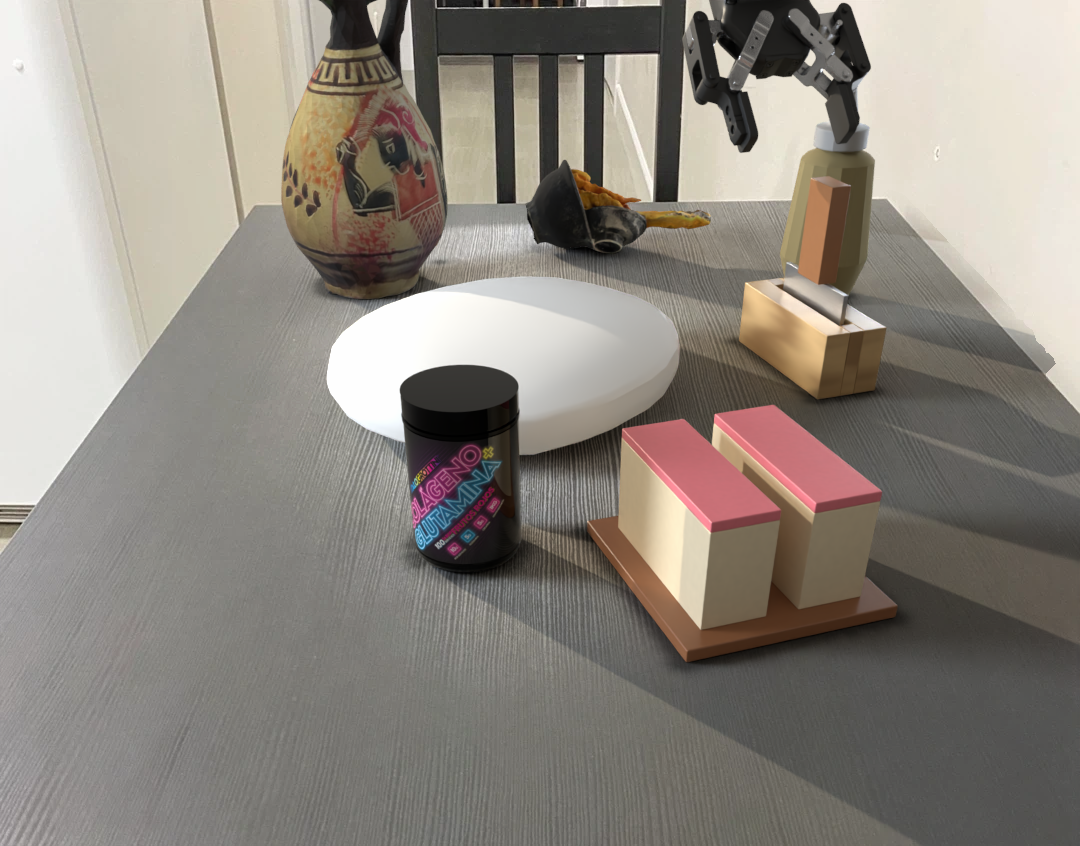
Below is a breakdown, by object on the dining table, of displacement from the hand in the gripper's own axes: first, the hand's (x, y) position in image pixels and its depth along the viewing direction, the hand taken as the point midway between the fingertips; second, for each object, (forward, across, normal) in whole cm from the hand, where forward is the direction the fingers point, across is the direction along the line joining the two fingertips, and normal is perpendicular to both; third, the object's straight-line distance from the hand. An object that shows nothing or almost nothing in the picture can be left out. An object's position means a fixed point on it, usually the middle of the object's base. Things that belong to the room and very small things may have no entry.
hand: (799, 141), depth 84 cm
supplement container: (+29, -35, -6) cm, 45 cm away
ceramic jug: (-8, -29, +31) cm, 43 cm away
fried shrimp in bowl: (-10, -3, +32) cm, 34 cm away
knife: (+15, 0, +7) cm, 17 cm away
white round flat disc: (+13, -25, +9) cm, 30 cm away
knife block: (+15, 0, +7) cm, 17 cm away
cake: (+34, -20, -12) cm, 42 cm away
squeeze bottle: (+4, +10, +18) cm, 21 cm away
